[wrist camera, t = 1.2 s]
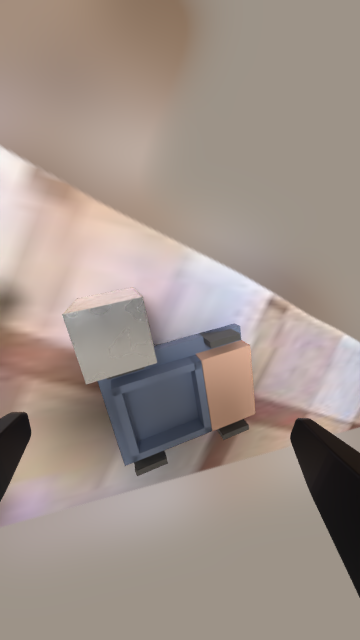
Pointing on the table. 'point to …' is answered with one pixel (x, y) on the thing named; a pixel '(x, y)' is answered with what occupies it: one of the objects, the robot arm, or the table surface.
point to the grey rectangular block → (110, 334)
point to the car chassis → (181, 396)
